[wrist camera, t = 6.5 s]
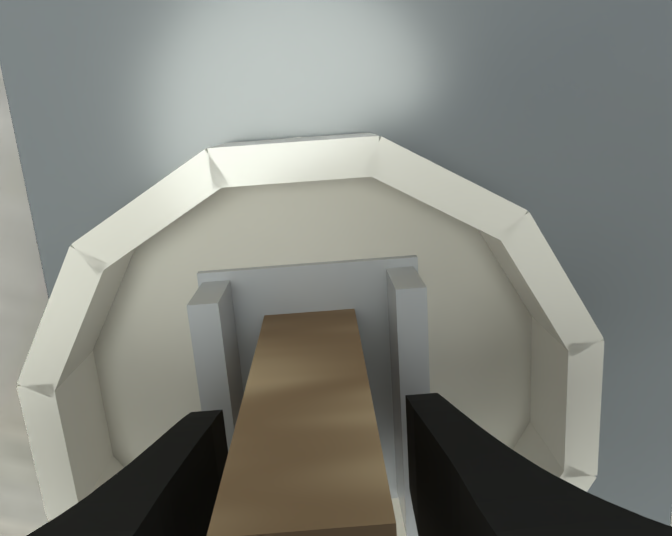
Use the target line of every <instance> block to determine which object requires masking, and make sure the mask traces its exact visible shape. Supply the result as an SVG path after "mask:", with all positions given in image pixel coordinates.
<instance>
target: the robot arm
mask: <svg viewBox="0 0 672 536" xmlns="http://www.w3.org/2000/svg"><path fill="white" fill-rule="evenodd" d="M405 399H406V423H407V446H408V470H409V490H410V495H411V500H412V506H413V511H414V516H415V522H416V527H417V532H418V536H672V527H671V526H668V525H666V524H663V523H660V522H657V521H655V520H652V519H649V518H646V517H644V516H641V515H639V514H637V513H634V512H632V511H629V510H627V509H625V508H622V507H620V506H617V505H615V504H613V503H610V502H608V501H605V500H603V499H601V498H599V497H597V496H595V495H592V494H590V493H588V492H586V491H584V490H582V489H580V488H578V487H576V486H574V485H572V484H571V483H569V482H567V481H565V480H563V479H561V478H559V477H557V476H555V475H553V474H551V473H550V472H548V471H546V470H544V469H543V468H541V467H539V466H538V465H536V464H534V463H533V462H531V461H530V460H528V459H526V458H525V457H523V456H522V455H520V454H519V453H517V452H515V451H514V450H512V449H511V448H509V447H508V446H506V445H505V444H504V443H502V442H501V441H499V440H498V439H496V438H495V437H494V436H492V435H491V434H489V433H488V432H487V431H485V430H484V429H483V428H481V427H480V426H479V425H477V424H476V423H475V422H474V421H472V420H471V419H470V418H468V417H467V416H466V415H465V414H463V413H462V412H461V411H460V410H458V409H457V408H456V407H455V406H453V405H452V404H451V403H450V402H449V401H447V400H446V399H445V398H444V397H442V396H441V395H440V394H438V393H428V394H415V395H405ZM227 456H228V446H227V439H226V431H225V424H224V416H223V410H211V411H198V412H190V413H189V414H187V415H186V416H185V417H183V418H182V419H181V420H180V421H178V422H177V423H176V424H175V425H174V426H173V427H171V428H170V429H169V430H168V431H167V432H166V433H164V434H163V435H162V436H161V437H160V438H159V439H158V440H156V441H155V442H154V443H153V444H152V445H151V446H149V447H148V448H147V449H146V450H145V451H143V452H142V453H141V454H140V455H139V456H138V457H136V458H135V459H134V460H133V461H132V462H131V463H129V464H128V465H127V466H126V467H124V468H123V469H122V470H120V471H119V472H118V473H117V474H115V475H114V476H113V477H111V478H110V479H109V480H107V481H106V482H105V483H104V484H102V485H101V486H100V487H98V488H97V489H96V490H94V491H93V492H92V493H91V494H89V495H88V496H87V497H85V498H84V499H82V500H81V501H80V502H78V503H77V504H75V505H74V506H72V507H71V508H69V509H68V510H66V511H65V512H64V513H62V514H61V515H59V516H57V517H56V518H54V519H53V520H51V521H49V522H48V523H46V524H45V525H43V526H42V527H40V528H38V529H37V530H35V531H34V532H32V533H30V534H29V535H27V536H207V532H208V528H209V524H210V521H211V517H212V513H213V509H214V505H215V501H216V498H217V494H218V490H219V486H220V482H221V479H222V475H223V471H224V467H225V463H226V460H227Z"/></svg>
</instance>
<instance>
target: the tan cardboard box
mask: <svg viewBox="0 0 672 536" xmlns="http://www.w3.org/2000/svg"><path fill="white" fill-rule="evenodd" d="M207 536H397V529H396V520H395V514H394V509H393V504H392V499H391V494H390V489H389V484H388V478H387V473H386V468H385V463H384V458H383V453H382V448H381V442H380V437H379V432H378V427H377V422H376V417H375V412H374V406H373V401H372V396H371V391H370V386H369V381H368V375H367V370H366V365H365V360H364V355H363V350H362V345H361V339H360V334H359V329H358V324H357V319H356V314H355V309H343V310H329V311H316V312H303V313H290V314H277V315H264V319H263V323H262V326H261V330H260V334H259V338H258V342H257V345H256V349H255V353H254V357H253V361H252V365H251V368H250V372H249V376H248V380H247V384H246V387H245V391H244V395H243V399H242V403H241V406H240V410H239V414H238V418H237V422H236V425H235V429H234V433H233V437H232V441H231V444H230V448H229V452H228V456H227V460H226V463H225V467H224V471H223V475H222V479H221V482H220V486H219V490H218V494H217V498H216V501H215V505H214V509H213V513H212V517H211V521H210V524H209V528H208V532H207Z"/></svg>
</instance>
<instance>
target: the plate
mask: <svg viewBox="0 0 672 536" xmlns="http://www.w3.org/2000/svg"><path fill="white" fill-rule="evenodd" d="M343 309H355V314H356V319H357V324H358V329H359V334H360V339H361V345H362V350H363V355H364V360H365V365H366V370H367V375H368V381H369V386H370V391H371V396H372V401H373V406H374V412H375V417H376V422H377V427H378V432H379V437H380V442H381V448H382V453H383V458H384V463H385V468H386V473H387V478H388V484H389V489H390V494H391V499H392V504H393V509H394V514H395V520H396V529H397V536H418V532H417V527H416V522H415V516H414V511H413V506H412V500H411V495H410V490H409V470H408V446H407V423H406V399H405V395H415V394H428V393H438V394H440V395H441V396H442V397H444V398H445V399H446V400H447V401H449V402H450V403H451V404H452V405H453V406H455V407H456V408H457V409H458V410H460V411H461V412H462V413H463V414H465V415H466V416H467V417H468V418H470V419H471V420H472V421H474V422H475V423H476V424H477V425H479V426H480V427H481V428H483V429H484V430H485V431H487V432H488V433H489V434H491V435H492V436H494V437H495V438H496V439H498V440H499V441H501V442H502V443H504V444H505V445H506V446H508V447H509V448H511V449H512V450H514V451H515V452H517V453H519V454H520V455H522V456H523V457H525V458H526V459H528V460H530V461H531V462H533V463H534V464H536V465H538V466H539V467H541V468H543V469H544V470H546V471H548V472H550V473H551V474H553V475H555V476H557V477H559V478H561V479H563V480H565V481H567V482H569V483H571V484H572V485H574V486H576V487H578V488H580V489H582V490H584V491H586V492H587V491H588V490H589V488H590V487H591V485H592V484H593V482H594V481H595V479H596V478H597V477H596V475H597V472H598V453H599V434H600V415H601V397H602V378H603V359H604V340H603V339H604V338H603V336H602V334H601V333H600V331H599V329H598V328H597V326H596V324H595V323H594V321H593V319H592V318H591V316H590V314H589V312H588V311H587V309H586V307H585V306H584V304H583V302H582V301H581V299H580V297H579V295H578V294H577V292H576V290H575V289H574V287H573V285H572V284H571V282H570V280H569V278H568V277H567V275H566V273H565V272H564V270H563V268H562V267H561V265H560V263H559V261H558V260H557V258H556V256H555V255H554V253H553V251H552V250H551V248H550V246H549V244H548V243H547V241H546V239H545V238H544V236H543V234H542V233H541V231H540V229H539V227H538V226H537V224H536V222H535V221H534V219H533V217H532V216H531V214H530V212H528V211H527V210H526V209H524V208H522V207H520V206H518V205H516V204H514V203H512V202H510V201H508V200H506V199H504V198H502V197H500V196H498V195H496V194H494V193H492V192H490V191H488V190H486V189H485V188H483V187H481V186H479V185H477V184H475V183H473V182H471V181H469V180H467V179H465V178H463V177H461V176H459V175H457V174H455V173H453V172H451V171H449V170H447V169H445V168H443V167H441V166H439V165H437V164H435V163H433V162H431V161H429V160H427V159H425V158H423V157H421V156H419V155H417V154H415V153H413V152H411V151H409V150H407V149H405V148H403V147H401V146H399V145H398V144H396V143H394V142H392V141H390V140H388V139H386V138H384V137H382V136H379V135H376V134H373V133H356V134H342V135H328V136H314V137H293V138H286V139H273V140H259V141H245V142H231V143H223V144H220V145H216V146H213V147H210V148H207V149H204V150H203V151H201V152H200V153H199V154H197V155H196V156H194V157H193V158H192V159H190V160H189V161H187V162H186V163H185V164H183V165H182V166H180V167H179V168H178V169H176V170H175V171H173V172H172V173H170V174H169V175H168V176H166V177H165V178H163V179H162V180H161V181H159V182H158V183H156V184H155V185H154V186H152V187H151V188H149V189H148V190H147V191H145V192H144V193H142V194H141V195H140V196H138V197H137V198H135V199H134V200H133V201H131V202H130V203H128V204H127V205H126V206H124V207H123V208H121V209H120V210H118V211H117V212H116V213H114V214H113V215H111V216H110V217H109V218H107V219H106V220H104V221H103V222H102V223H100V224H99V225H97V226H96V227H95V228H93V229H92V230H90V231H89V232H88V233H86V234H85V235H83V236H82V237H81V238H79V239H78V240H76V241H75V242H74V243H72V245H71V246H69V249H68V252H67V254H66V257H65V259H64V262H63V265H62V267H61V270H60V272H59V275H58V278H57V280H56V283H55V285H54V288H53V291H52V293H51V296H50V298H49V301H48V304H47V306H46V309H45V311H44V314H43V316H42V319H41V322H40V324H39V327H38V329H37V332H36V335H35V337H34V340H33V342H32V345H31V348H30V350H29V353H28V355H27V358H26V361H25V363H24V366H23V368H22V371H21V374H20V376H19V379H18V381H17V384H18V385H17V386H16V387H17V392H18V396H19V400H20V405H21V409H22V413H23V418H24V422H25V426H26V431H27V435H28V439H29V444H30V448H31V452H32V457H33V461H34V465H35V470H36V474H37V478H38V483H39V487H40V491H41V496H42V500H43V504H44V509H45V513H46V517H47V520H49V519H50V520H49V521H51V520H53V519H54V518H56V517H57V516H59V515H61V514H62V513H64V512H65V511H66V510H68V509H69V508H71V507H72V506H74V505H75V504H77V503H78V502H80V501H81V500H82V499H84V498H85V497H87V496H88V495H89V494H91V493H92V492H93V491H94V490H96V489H97V488H98V487H100V486H101V485H102V484H104V483H105V482H106V481H107V480H109V479H110V478H111V477H113V476H114V475H115V474H117V473H118V472H119V471H120V470H122V469H123V468H124V467H126V466H127V465H128V464H129V463H131V462H132V461H133V460H134V459H135V458H136V457H138V456H139V455H140V454H141V453H142V452H143V451H145V450H146V449H147V448H148V447H149V446H151V445H152V444H153V443H154V442H155V441H156V440H158V439H159V438H160V437H161V436H162V435H163V434H164V433H166V432H167V431H168V430H169V429H170V428H171V427H173V426H174V425H175V424H176V423H177V422H178V421H180V420H181V419H182V418H183V417H185V416H186V415H187V414H189V413H190V412H198V411H211V410H223V416H224V424H225V431H226V439H227V446H228V452H229V448H230V444H231V441H232V437H233V433H234V429H235V425H236V422H237V418H238V414H239V410H240V406H241V403H242V399H243V395H244V391H245V387H246V384H247V380H248V376H249V372H250V368H251V365H252V361H253V357H254V353H255V349H256V345H257V342H258V338H259V334H260V330H261V326H262V323H263V319H264V315H277V314H290V313H303V312H316V311H329V310H343ZM49 521H48V522H49Z"/></svg>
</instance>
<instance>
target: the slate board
mask: <svg viewBox="0 0 672 536" xmlns="http://www.w3.org/2000/svg"><path fill="white" fill-rule="evenodd" d="M0 65H1V70H2V75H3V80H4V84H5V89H6V94H7V99H8V104H9V109H10V114H11V118H12V123H13V128H14V133H15V138H16V143H17V148H18V152H19V157H20V162H21V167H22V172H23V177H24V181H25V186H26V191H27V196H28V201H29V206H30V211H31V215H32V220H33V225H34V230H35V235H36V240H37V244H38V249H39V254H40V259H41V264H42V269H43V274H44V278H45V283H46V288H47V293H48V298H50V296H51V293H52V291H53V288H54V285H55V283H56V280H57V278H58V275H59V272H60V270H61V267H62V265H63V262H64V259H65V257H66V254H67V252H68V249H69V246H71V245H72V243H74V242H75V241H76V240H78V239H79V238H81V237H82V236H83V235H85V234H86V233H88V232H89V231H90V230H92V229H93V228H95V227H96V226H97V225H99V224H100V223H102V222H103V221H104V220H106V219H107V218H109V217H110V216H111V215H113V214H114V213H116V212H117V211H118V210H120V209H121V208H123V207H124V206H126V205H127V204H128V203H130V202H131V201H133V200H134V199H135V198H137V197H138V196H140V195H141V194H142V193H144V192H145V191H147V190H148V189H149V188H151V187H152V186H154V185H155V184H156V183H158V182H159V181H161V180H162V179H163V178H165V177H166V176H168V175H169V174H170V173H172V172H173V171H175V170H176V169H178V168H179V167H180V166H182V165H183V164H185V163H186V162H187V161H189V160H190V159H192V158H193V157H194V156H196V155H197V154H199V153H200V152H201V151H203V150H204V149H207V148H210V147H213V146H216V145H220V144H223V143H231V142H245V141H259V140H273V139H286V138H293V137H314V136H328V135H342V134H356V133H373V134H376V135H379V136H382V137H384V138H386V139H388V140H390V141H392V142H394V143H396V144H398V145H399V146H401V147H403V148H405V149H407V150H409V151H411V152H413V153H415V154H417V155H419V156H421V157H423V158H425V159H427V160H429V161H431V162H433V163H435V164H437V165H439V166H441V167H443V168H445V169H447V170H449V171H451V172H453V173H455V174H457V175H459V176H461V177H463V178H465V179H467V180H469V181H471V182H473V183H475V184H477V185H479V186H481V187H483V188H485V189H486V190H488V191H490V192H492V193H494V194H496V195H498V196H500V197H502V198H504V199H506V200H508V201H510V202H512V203H514V204H516V205H518V206H520V207H522V208H524V209H526V210H527V211H528V212H530V214H531V216H532V217H533V219H534V221H535V222H536V224H537V226H538V227H539V229H540V231H541V233H542V234H543V236H544V238H545V239H546V241H547V243H548V244H549V246H550V248H551V250H552V251H553V253H554V255H555V256H556V258H557V260H558V261H559V263H560V265H561V267H562V268H563V270H564V272H565V273H566V275H567V277H568V278H569V280H570V282H571V284H572V285H573V287H574V289H575V290H576V292H577V294H578V295H579V297H580V299H581V301H582V302H583V304H584V306H585V307H586V309H587V311H588V312H589V314H590V316H591V318H592V319H593V321H594V323H595V324H596V326H597V328H598V329H599V331H600V333H601V334H602V336H603V338H604V339H603V340H604V359H603V378H602V397H601V415H600V434H599V453H598V472H597V475H596V477H597V478H596V479H595V481H594V482H593V484H592V485H591V487H590V488H589V490H588V491H587V492H588V493H590V494H592V495H595V496H597V497H599V498H601V499H603V500H605V501H608V502H610V503H613V504H615V505H617V506H620V507H622V508H625V509H627V510H629V511H632V512H634V513H637V514H639V515H641V516H644V517H646V518H649V519H652V520H655V521H657V522H660V523H663V524H666V525H668V526H670V523H671V512H672V0H0Z"/></svg>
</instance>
